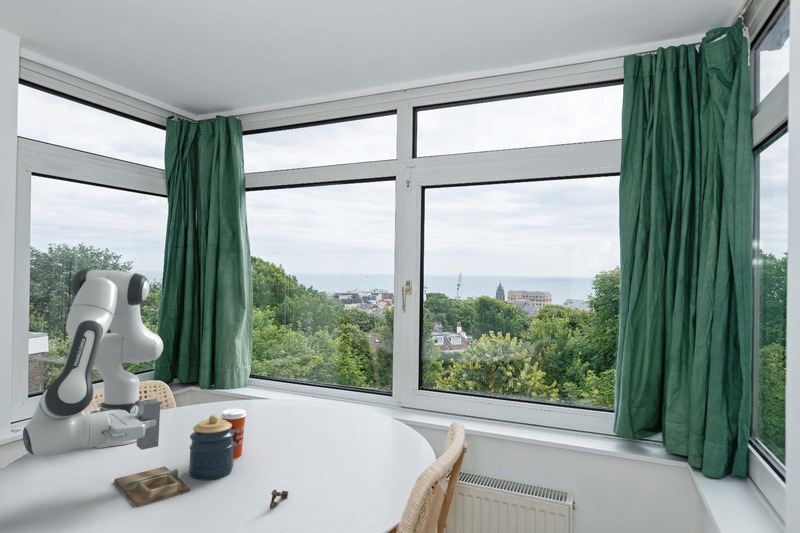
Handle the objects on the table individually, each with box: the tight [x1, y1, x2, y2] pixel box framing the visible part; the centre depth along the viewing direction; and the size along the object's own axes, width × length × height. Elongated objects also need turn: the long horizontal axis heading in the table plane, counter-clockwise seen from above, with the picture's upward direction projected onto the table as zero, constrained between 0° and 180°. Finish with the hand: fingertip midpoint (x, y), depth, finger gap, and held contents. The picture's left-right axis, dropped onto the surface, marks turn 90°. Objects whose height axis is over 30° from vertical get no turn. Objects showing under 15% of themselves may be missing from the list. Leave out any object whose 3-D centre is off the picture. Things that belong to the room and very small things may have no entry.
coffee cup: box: [220, 408, 247, 460], centre depth 162 cm, size 8×8×15 cm
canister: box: [188, 414, 235, 481], centre depth 148 cm, size 13×13×18 cm
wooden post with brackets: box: [269, 489, 289, 509], centre depth 129 cm, size 2×8×4 cm, turn 166°
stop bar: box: [136, 398, 161, 451], centre depth 140 cm, size 4×4×13 cm
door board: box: [114, 466, 191, 507], centre depth 137 cm, size 14×20×3 cm
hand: (151, 419), depth 141 cm, fingers closed on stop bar, 4 cm apart
